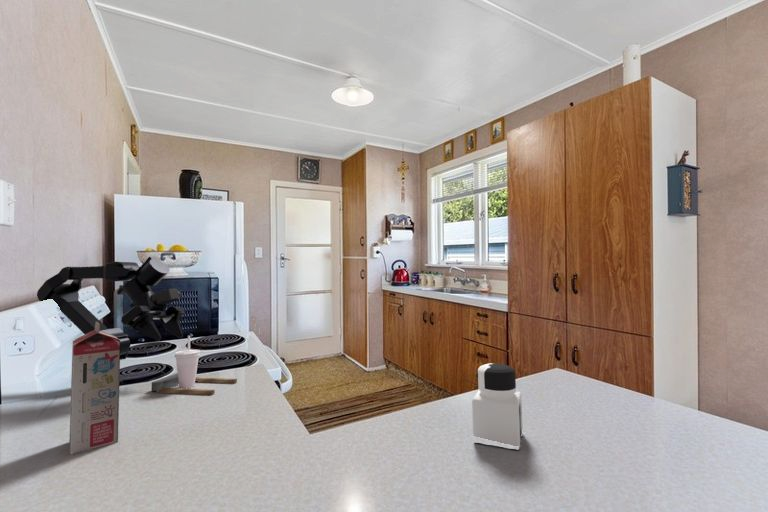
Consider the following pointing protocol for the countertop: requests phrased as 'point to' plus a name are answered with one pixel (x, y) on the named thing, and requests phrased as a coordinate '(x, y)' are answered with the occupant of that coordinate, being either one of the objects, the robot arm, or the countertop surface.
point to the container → (497, 405)
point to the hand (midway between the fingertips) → (171, 338)
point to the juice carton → (94, 390)
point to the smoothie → (187, 366)
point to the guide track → (173, 380)
